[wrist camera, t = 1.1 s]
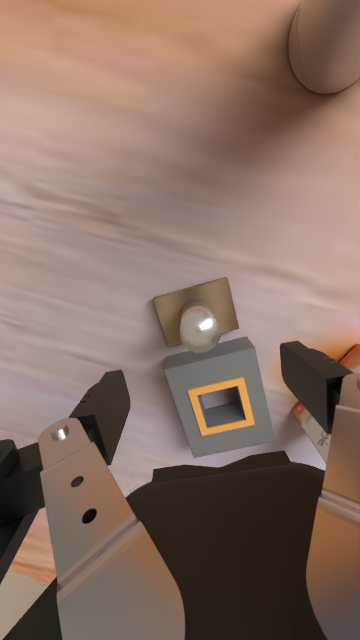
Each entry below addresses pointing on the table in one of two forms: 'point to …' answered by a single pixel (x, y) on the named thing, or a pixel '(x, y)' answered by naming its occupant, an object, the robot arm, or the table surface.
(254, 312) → the table surface
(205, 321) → the steel peg
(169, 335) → the brown rectangular block
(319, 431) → the cracker box
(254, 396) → the hole block
